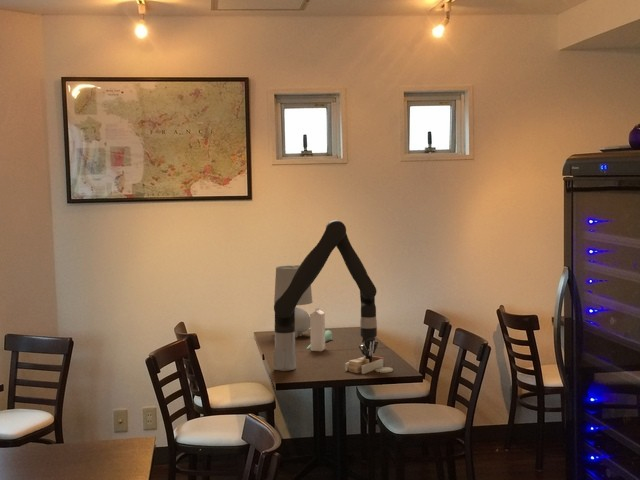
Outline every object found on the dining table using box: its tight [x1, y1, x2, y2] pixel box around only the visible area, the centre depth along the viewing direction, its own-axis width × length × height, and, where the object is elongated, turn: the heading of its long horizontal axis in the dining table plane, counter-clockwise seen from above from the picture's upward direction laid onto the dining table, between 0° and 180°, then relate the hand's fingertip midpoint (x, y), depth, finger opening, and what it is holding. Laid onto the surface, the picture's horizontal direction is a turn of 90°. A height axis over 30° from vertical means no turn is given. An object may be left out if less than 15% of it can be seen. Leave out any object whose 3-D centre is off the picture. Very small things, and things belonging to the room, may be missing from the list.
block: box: [348, 357, 369, 374], centre depth 316 cm, size 8×5×5 cm, turn 134°
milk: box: [309, 306, 326, 352], centre depth 360 cm, size 6×6×22 cm
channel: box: [344, 355, 385, 375], centre depth 320 cm, size 17×10×4 cm, turn 142°
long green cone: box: [305, 329, 333, 350], centre depth 374 cm, size 5×6×27 cm
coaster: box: [374, 366, 394, 374], centre depth 315 cm, size 8×8×1 cm
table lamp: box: [273, 264, 313, 338], centre depth 397 cm, size 23×22×40 cm
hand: (368, 363), depth 323 cm, fingers closed
